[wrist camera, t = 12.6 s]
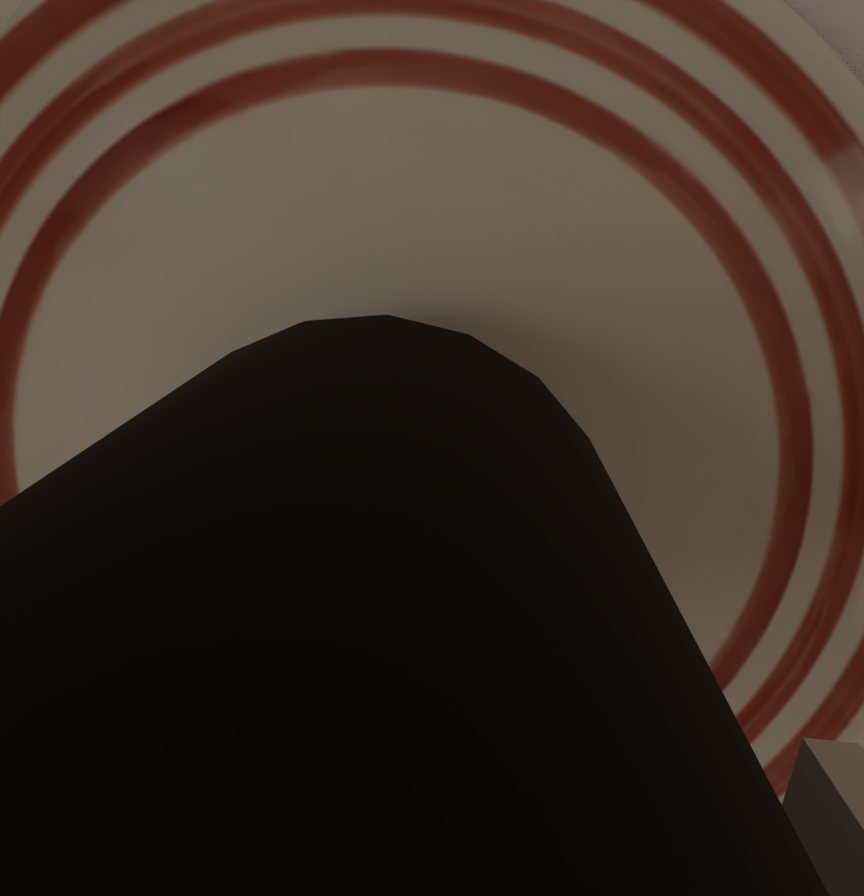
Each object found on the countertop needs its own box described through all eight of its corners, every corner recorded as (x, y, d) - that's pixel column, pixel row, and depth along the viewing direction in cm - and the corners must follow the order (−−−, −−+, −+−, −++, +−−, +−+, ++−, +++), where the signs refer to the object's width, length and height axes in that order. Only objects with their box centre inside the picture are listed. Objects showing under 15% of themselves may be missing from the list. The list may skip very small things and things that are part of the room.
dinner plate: (142, 943, 27) (101, 1042, 24) (-309, 136, 19) (-460, 124, 16) (953, 761, 24) (1030, 847, 21) (816, -292, 16) (907, -413, 13)
